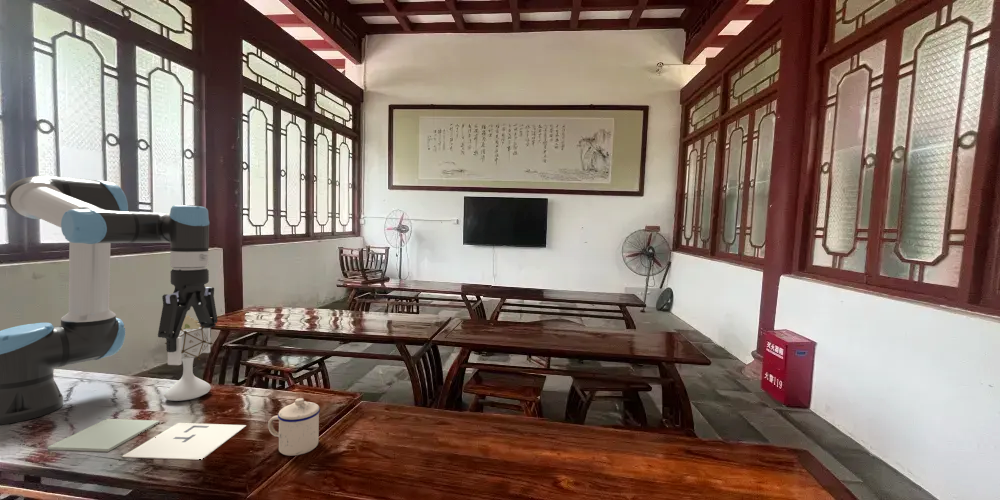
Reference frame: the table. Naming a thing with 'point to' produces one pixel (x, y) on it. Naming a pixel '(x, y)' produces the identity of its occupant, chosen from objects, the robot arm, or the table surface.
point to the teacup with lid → (297, 427)
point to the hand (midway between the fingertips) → (190, 358)
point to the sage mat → (104, 435)
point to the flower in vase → (187, 375)
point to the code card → (186, 441)
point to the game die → (193, 342)
